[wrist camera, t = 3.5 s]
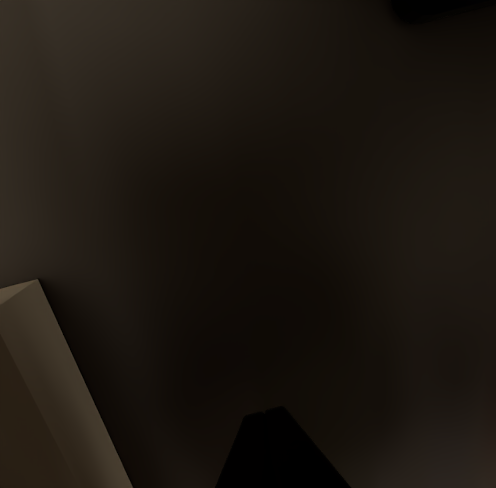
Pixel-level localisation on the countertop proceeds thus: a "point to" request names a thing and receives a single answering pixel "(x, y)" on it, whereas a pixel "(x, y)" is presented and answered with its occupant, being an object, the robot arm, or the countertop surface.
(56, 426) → the block
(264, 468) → the robot arm
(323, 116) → the countertop surface
